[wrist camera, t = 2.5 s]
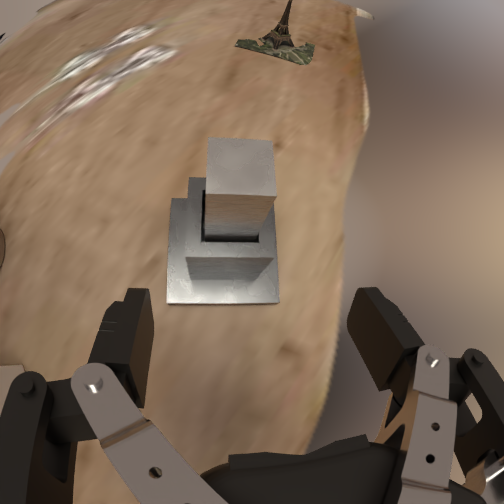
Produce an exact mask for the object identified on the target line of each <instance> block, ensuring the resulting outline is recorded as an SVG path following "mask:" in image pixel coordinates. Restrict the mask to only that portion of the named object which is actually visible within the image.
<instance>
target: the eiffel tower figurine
mask: <svg viewBox="0 0 504 504" xmlns="http://www.w3.org/2000/svg"><path fill="white" fill-rule="evenodd" d="M291 3H292V0H289V1H288V4H287V7H286V9H285V12H284V14H283V16H282V18H281V20H280V22H278V23H279V24H278V25H277V26H276V27H275V29H274V30H271V32H270V33H268V34H267V35H265V36H264V37H262V38H258V39H259V40H261V41H262V42H263V43H264V45H262V46H259V45H258V44H257V42H256V41H255V40H250V39H245V40H239V39H238V41H237V43H236V44H235V46H238V47H242V48H246V49H250V50H254V51H257V52H262V53H266V54H269V55H273V56H276V57H280V58H283V59H286V60H289V61H292V62H295V63H297V64H300V65H307V64H309V63H310V62H311V61H312V57H313V52H314V47H315V45H314V44H310V43H306V44H305V45H302V46H300V47H294V45H293V42H292V40H291V38H290V36H291V35H290V34H289V31H288V26H289V25H288V19H289V13H290V8H291ZM279 28H280V29H279ZM284 29H285V30H284ZM271 36H272V37H271Z"/></svg>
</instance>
